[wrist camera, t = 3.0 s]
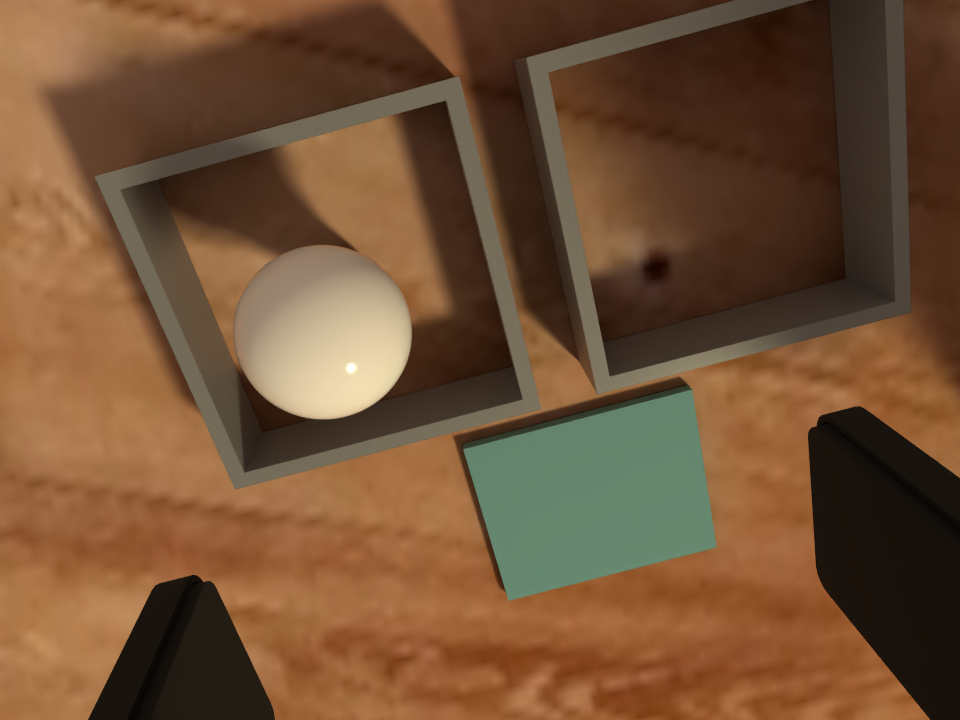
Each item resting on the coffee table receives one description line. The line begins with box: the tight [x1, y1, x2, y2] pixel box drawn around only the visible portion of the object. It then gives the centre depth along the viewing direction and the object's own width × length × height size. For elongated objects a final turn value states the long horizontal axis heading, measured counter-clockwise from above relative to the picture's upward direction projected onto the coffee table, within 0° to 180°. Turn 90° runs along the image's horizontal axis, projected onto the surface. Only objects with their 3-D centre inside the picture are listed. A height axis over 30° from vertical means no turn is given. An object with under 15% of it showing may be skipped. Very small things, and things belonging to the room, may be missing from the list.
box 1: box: [95, 76, 541, 489], centre depth 32 cm, size 14×14×4 cm
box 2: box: [514, 0, 911, 395], centre depth 31 cm, size 14×14×4 cm
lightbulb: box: [233, 245, 412, 420], centre depth 28 cm, size 6×6×11 cm
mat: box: [463, 385, 716, 600], centre depth 39 cm, size 12×10×1 cm
